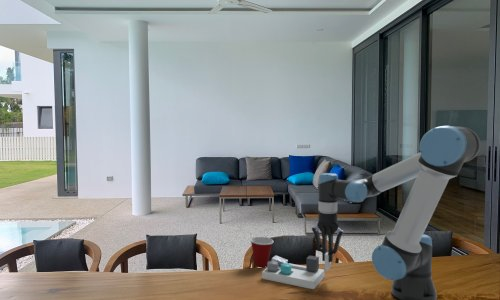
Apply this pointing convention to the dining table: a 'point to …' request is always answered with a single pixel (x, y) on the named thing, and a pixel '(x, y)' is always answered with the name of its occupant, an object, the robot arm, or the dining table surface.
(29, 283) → the dining table surface
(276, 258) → the white block with nub
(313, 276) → the panel
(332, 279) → the dining table surface
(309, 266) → the slider knob
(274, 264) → the grey button
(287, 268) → the teal button
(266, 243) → the plastic cup
